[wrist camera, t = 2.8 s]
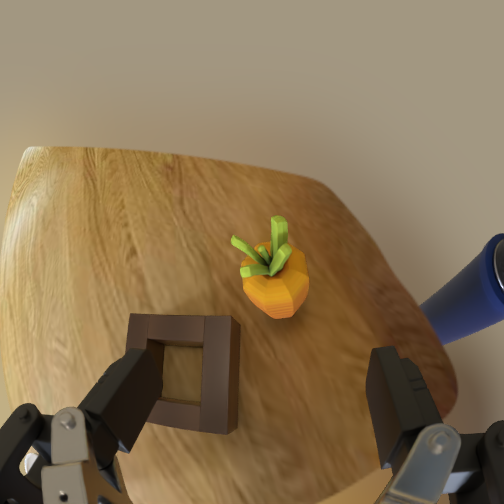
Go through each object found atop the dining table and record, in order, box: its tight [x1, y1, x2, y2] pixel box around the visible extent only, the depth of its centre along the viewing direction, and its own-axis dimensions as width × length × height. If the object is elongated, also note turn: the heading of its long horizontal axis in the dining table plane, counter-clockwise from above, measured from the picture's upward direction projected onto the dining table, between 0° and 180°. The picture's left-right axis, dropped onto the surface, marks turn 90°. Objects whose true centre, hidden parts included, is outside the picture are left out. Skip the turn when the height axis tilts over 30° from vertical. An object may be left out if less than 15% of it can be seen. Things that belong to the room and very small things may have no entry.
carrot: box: [231, 215, 310, 319], centre depth 22 cm, size 5×5×15 cm
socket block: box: [125, 313, 240, 435], centre depth 25 cm, size 11×11×4 cm
